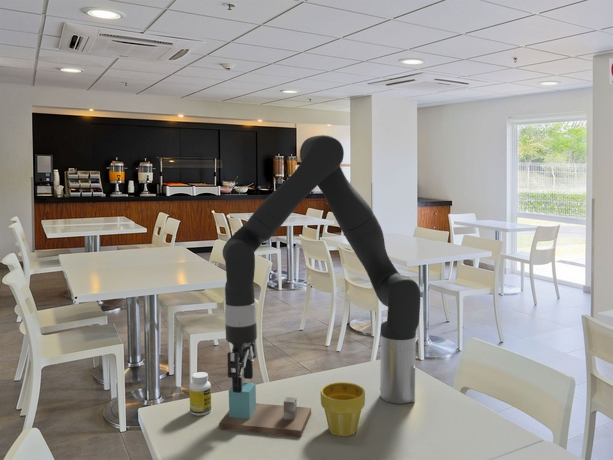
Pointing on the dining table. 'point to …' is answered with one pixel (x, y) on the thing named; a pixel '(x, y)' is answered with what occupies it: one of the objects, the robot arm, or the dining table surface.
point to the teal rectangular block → (243, 401)
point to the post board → (271, 419)
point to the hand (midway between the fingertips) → (243, 384)
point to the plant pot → (342, 407)
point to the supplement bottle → (200, 394)
